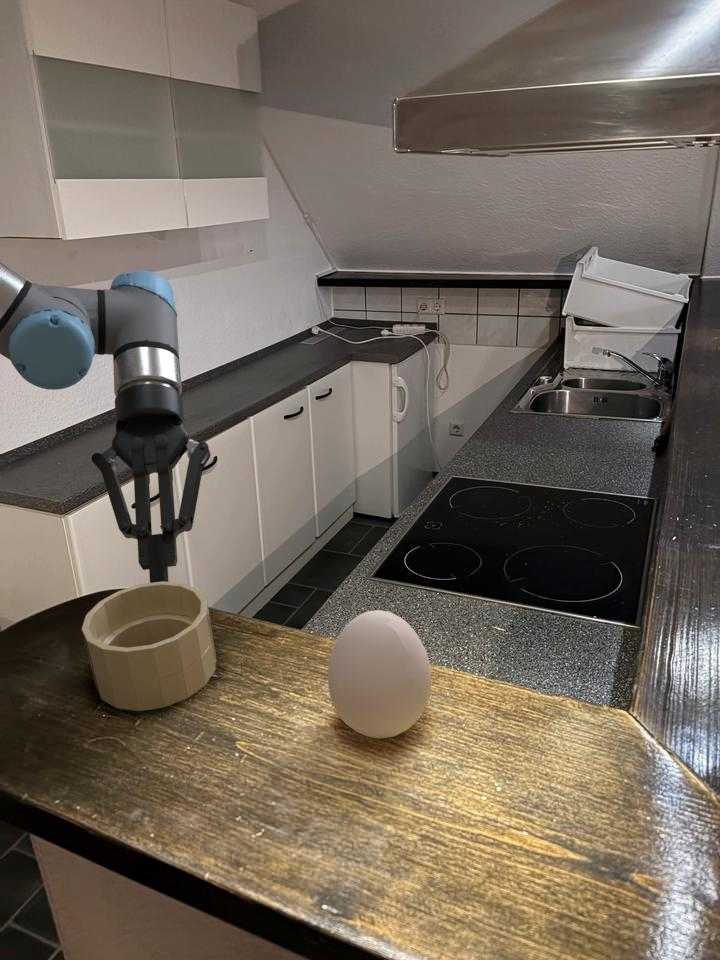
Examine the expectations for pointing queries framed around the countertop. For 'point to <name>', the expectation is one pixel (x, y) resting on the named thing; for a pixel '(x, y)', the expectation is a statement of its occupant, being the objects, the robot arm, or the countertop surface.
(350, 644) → the egg
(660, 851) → the countertop surface
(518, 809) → the countertop surface
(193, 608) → the ring
